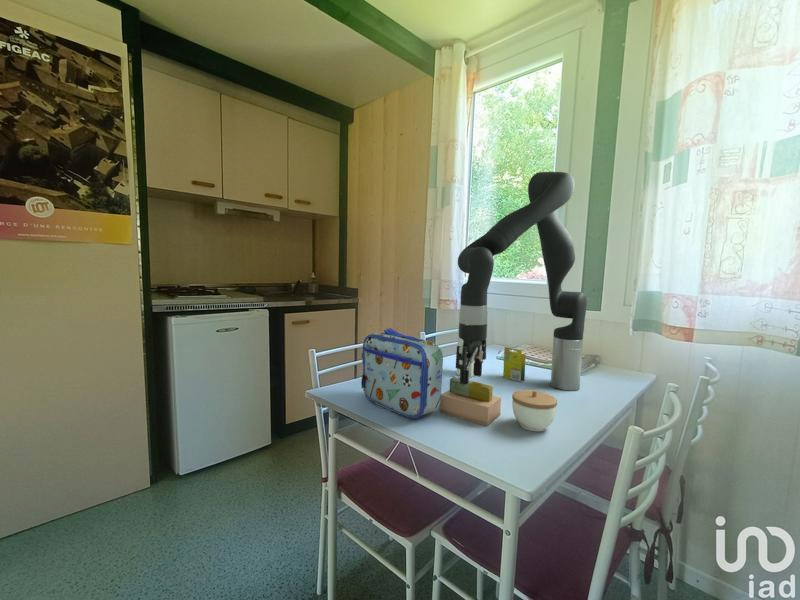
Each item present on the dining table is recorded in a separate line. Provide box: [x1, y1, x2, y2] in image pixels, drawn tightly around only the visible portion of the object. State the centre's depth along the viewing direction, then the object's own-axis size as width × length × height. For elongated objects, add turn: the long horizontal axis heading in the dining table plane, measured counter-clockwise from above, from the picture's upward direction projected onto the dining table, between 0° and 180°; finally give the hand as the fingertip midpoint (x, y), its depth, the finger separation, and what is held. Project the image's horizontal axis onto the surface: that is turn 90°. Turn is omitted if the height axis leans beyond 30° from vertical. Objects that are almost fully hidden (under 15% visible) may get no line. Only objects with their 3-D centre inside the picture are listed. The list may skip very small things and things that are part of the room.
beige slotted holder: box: [439, 389, 502, 427], centre depth 97 cm, size 9×14×5 cm, turn 54°
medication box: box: [449, 376, 494, 402], centre depth 97 cm, size 12×3×4 cm, turn 52°
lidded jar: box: [511, 389, 558, 432], centre depth 90 cm, size 11×11×9 cm
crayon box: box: [502, 346, 527, 383], centre depth 130 cm, size 7×3×12 cm, turn 40°
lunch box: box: [360, 327, 444, 419], centre depth 100 cm, size 28×10×22 cm, turn 44°
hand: (470, 379), depth 97 cm, fingers open, 8 cm apart
